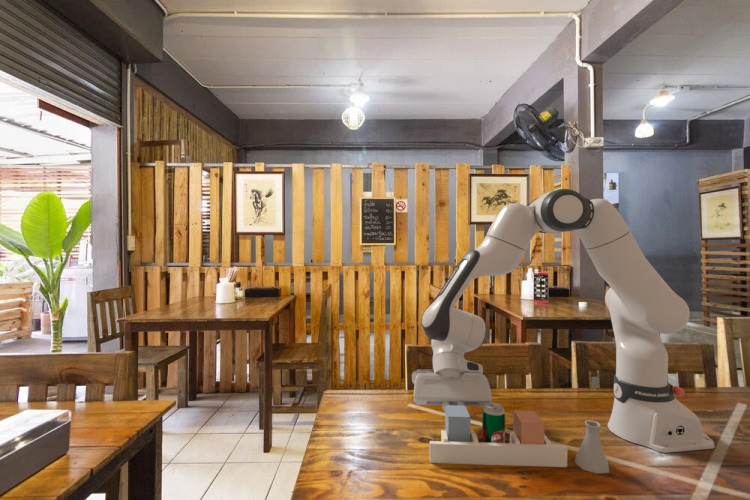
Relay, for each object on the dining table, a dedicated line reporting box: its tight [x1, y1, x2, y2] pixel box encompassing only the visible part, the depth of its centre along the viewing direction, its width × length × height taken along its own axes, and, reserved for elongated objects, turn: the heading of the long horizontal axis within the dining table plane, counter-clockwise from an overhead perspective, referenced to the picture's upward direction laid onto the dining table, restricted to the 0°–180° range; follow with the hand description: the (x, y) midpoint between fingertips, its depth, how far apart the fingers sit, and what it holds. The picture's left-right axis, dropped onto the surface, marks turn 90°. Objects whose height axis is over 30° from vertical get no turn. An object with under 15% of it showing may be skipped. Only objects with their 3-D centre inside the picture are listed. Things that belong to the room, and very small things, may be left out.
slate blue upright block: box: [444, 405, 471, 442], centre depth 93 cm, size 5×7×9 cm
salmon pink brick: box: [512, 410, 545, 444], centre depth 90 cm, size 5×7×9 cm
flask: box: [574, 419, 610, 475], centre depth 86 cm, size 7×7×10 cm
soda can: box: [481, 402, 506, 443], centre depth 90 cm, size 5×5×12 cm
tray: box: [429, 429, 568, 468], centre depth 94 cm, size 30×17×6 cm, turn 87°
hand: (454, 421), depth 97 cm, fingers closed, pressing on slate blue upright block
